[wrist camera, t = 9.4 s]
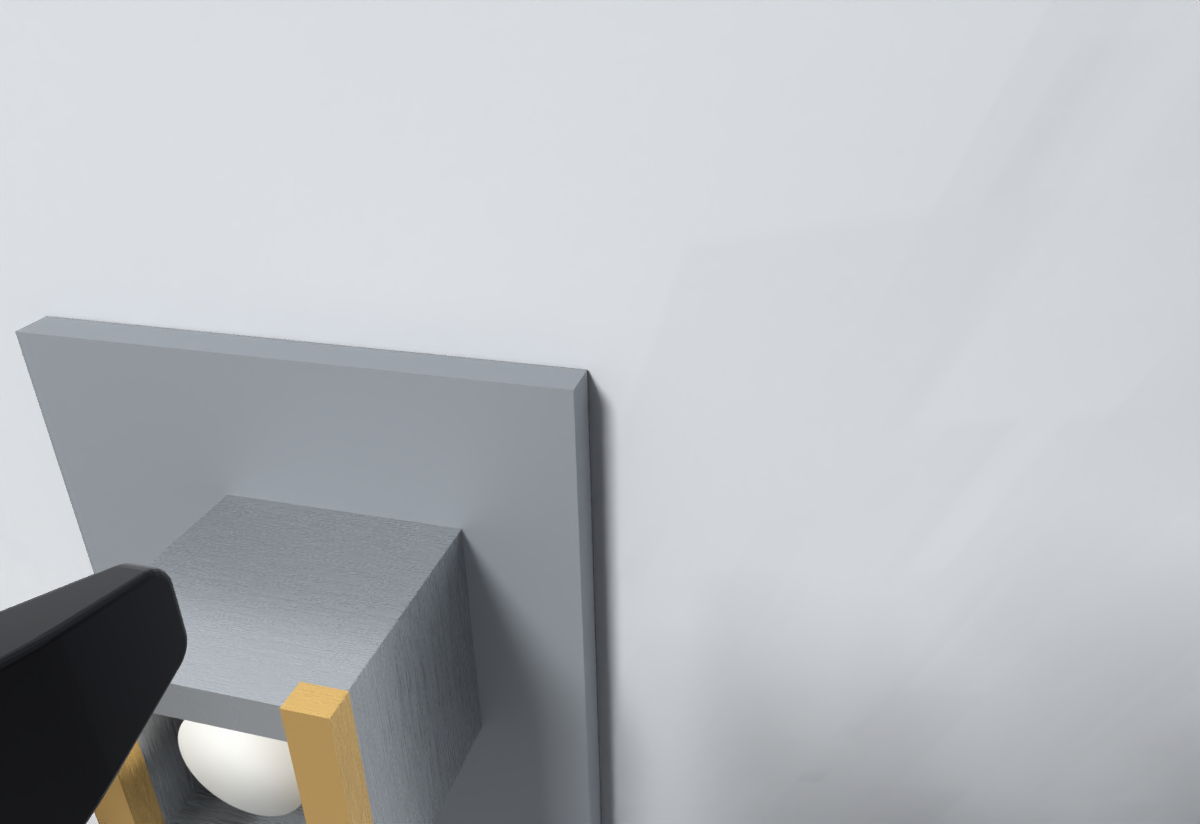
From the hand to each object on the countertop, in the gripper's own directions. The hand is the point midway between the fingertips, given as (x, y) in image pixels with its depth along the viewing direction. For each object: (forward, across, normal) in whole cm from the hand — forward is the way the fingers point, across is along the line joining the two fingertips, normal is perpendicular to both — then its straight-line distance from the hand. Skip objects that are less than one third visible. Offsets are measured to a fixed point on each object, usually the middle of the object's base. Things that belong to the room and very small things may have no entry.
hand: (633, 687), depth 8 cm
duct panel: (+12, +11, +12) cm, 20 cm away
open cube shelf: (+11, +10, +10) cm, 18 cm away
